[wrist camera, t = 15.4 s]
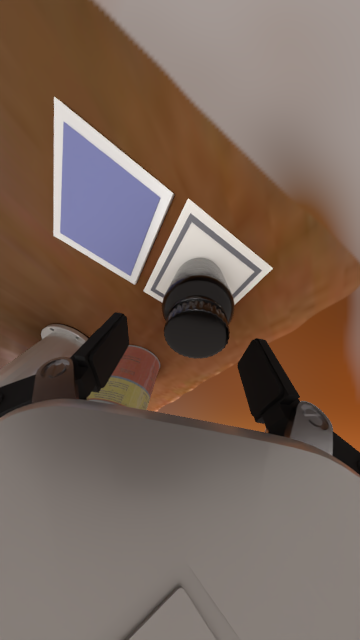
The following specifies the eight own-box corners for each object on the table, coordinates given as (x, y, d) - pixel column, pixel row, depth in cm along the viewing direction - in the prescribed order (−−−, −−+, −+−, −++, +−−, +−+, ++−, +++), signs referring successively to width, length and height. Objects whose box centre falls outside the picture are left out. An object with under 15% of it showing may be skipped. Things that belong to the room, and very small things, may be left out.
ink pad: (174, 194, 15) (173, 192, 14) (136, 282, 21) (134, 285, 21) (61, 102, 12) (51, 94, 11) (58, 235, 19) (52, 235, 18)
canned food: (111, 362, 36) (76, 414, 26) (122, 337, 29) (83, 393, 20) (149, 379, 38) (130, 433, 28) (168, 359, 32) (152, 420, 22)
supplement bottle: (218, 304, 21) (232, 372, 11) (175, 301, 22) (154, 363, 12) (227, 256, 17) (260, 298, 7) (174, 255, 18) (141, 292, 8)
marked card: (271, 267, 17) (273, 268, 17) (207, 329, 25) (207, 330, 24) (188, 198, 15) (188, 198, 14) (143, 290, 22) (143, 291, 22)
